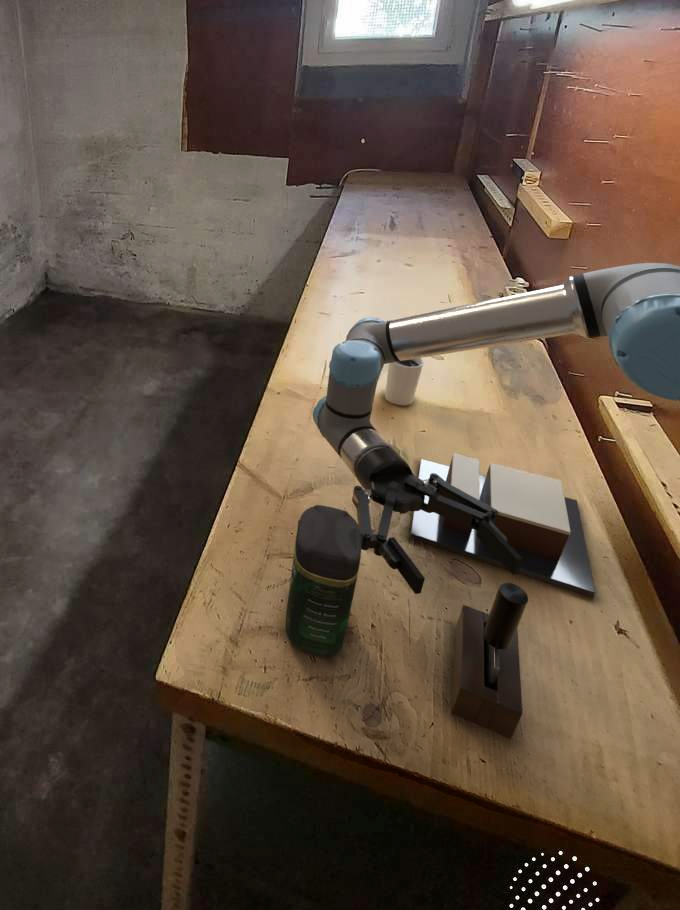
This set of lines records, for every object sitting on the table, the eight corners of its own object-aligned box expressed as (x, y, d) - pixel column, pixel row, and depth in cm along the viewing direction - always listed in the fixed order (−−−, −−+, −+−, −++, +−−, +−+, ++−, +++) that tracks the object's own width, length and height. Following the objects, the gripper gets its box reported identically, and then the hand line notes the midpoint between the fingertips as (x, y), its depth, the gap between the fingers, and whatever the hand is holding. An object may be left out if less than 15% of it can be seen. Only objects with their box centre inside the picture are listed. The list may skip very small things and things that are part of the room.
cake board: (575, 504, 95) (576, 500, 95) (593, 597, 80) (595, 593, 79) (420, 462, 106) (421, 458, 105) (409, 538, 90) (410, 533, 90)
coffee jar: (344, 667, 72) (365, 566, 64) (281, 649, 75) (293, 550, 66) (345, 602, 80) (364, 506, 72) (289, 588, 83) (300, 493, 74)
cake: (550, 508, 93) (561, 480, 91) (558, 561, 84) (570, 532, 81) (482, 489, 98) (490, 462, 95) (482, 537, 88) (491, 509, 86)
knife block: (455, 629, 76) (463, 604, 74) (507, 648, 73) (517, 623, 71) (451, 713, 67) (460, 687, 65) (511, 739, 64) (522, 713, 62)
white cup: (380, 388, 128) (387, 350, 124) (411, 391, 127) (419, 352, 123) (385, 405, 123) (392, 366, 118) (418, 407, 121) (426, 368, 117)
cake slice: (471, 486, 98) (479, 459, 96) (470, 534, 89) (479, 506, 86) (446, 479, 100) (453, 452, 98) (442, 525, 91) (450, 497, 88)
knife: (468, 647, 74) (498, 561, 67) (493, 656, 73) (526, 570, 66) (467, 704, 68) (500, 616, 61) (494, 715, 66) (530, 627, 59)
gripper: (442, 470, 92) (548, 579, 73) (299, 494, 89) (373, 615, 70) (451, 434, 89) (565, 537, 70) (303, 457, 85) (382, 573, 66)
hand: (469, 576), depth 70 cm, fingers open, 13 cm apart
